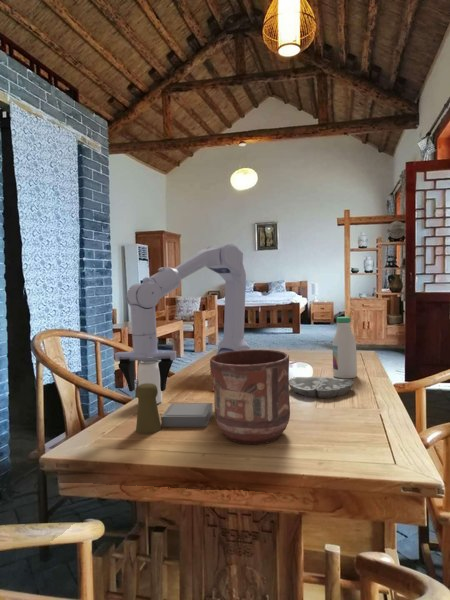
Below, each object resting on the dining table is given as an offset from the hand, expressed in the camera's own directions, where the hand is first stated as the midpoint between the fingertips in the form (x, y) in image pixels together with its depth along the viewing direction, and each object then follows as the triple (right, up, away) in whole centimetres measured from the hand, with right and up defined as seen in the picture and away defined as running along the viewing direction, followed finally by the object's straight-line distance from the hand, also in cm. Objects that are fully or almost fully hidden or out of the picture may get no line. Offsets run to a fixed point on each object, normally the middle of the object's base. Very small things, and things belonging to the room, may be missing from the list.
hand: (147, 390), depth 109 cm
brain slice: (+47, -6, +26) cm, 54 cm away
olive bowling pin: (0, -10, 0) cm, 10 cm away
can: (-3, -8, +23) cm, 25 cm away
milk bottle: (+59, -4, +44) cm, 73 cm away
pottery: (+25, -9, -6) cm, 27 cm away
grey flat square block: (+9, -9, +7) cm, 14 cm away
